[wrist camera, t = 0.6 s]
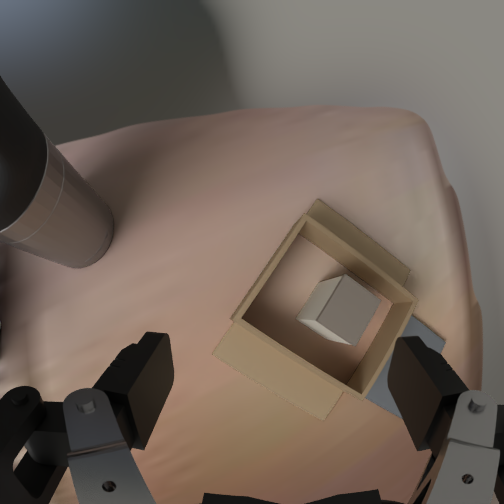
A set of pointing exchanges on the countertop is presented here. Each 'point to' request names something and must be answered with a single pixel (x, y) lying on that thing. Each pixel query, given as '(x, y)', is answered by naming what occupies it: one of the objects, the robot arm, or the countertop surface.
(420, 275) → the countertop surface
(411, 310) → the carton
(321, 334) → the tea box
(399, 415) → the slate mat
